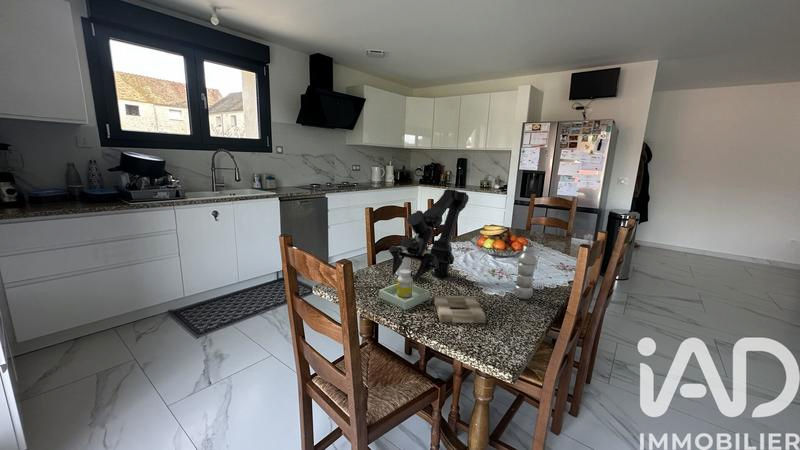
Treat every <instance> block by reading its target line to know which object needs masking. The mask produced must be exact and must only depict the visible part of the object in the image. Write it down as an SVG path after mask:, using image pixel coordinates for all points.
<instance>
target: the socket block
mask: <svg viewBox="0 0 800 450" xmlns="http://www.w3.org/2000/svg"><path fill="white" fill-rule="evenodd" d="M433 297H434V298H433V303H434V306H435V310H436V312H437V315H438V319H439V322H440V323H451V324H452V323H453V324H454V323H456V324H457V323H459V324H460V323H461V324H462V323H465V324H466V323H468V324H469V323H470V324H485V322H486V314H485V313H484V310H483V309H482V307H481V306H480V304H479V302H478V301H477V300H476V297H475V296H473V295H471V296H470V295H434V296H433ZM451 308H452V309H451ZM453 308H455V309H453ZM456 308H458V309H456ZM459 308H462V309H459ZM463 308H464V309H463Z"/></svg>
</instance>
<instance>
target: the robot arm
mask: <svg viewBox="0 0 800 450" xmlns="http://www.w3.org/2000/svg"><path fill="white" fill-rule="evenodd" d="M469 198H470V197H469V195H468V194H467V192H465V191H458V190H456V189H451V188H450V189H449V188H447V189H444V191H443V194H442V195H441V196H440V197H439V199H438V200H437V202H435V204H434V205H433V206H432V207H431V208H428V209H426V210H424V212H423V211H422V210H416V211H415V212H413V213H411V214H409V216H408V217H407V220H406V221H407V223H408V226H409V227H410V228H411V230H412V232H413V233H414V234H415V235H414V237H405V236H403V237H402V241H401V245H400V246H404V247H405V249H406V250H407V252H404V251H403V250H402V248H401V247H399V246H397V245H392V246H390V247H389V250H388V252H389V253H390V256H392V260H393V264H392V272H391V273H392V275H396V272H397V270H398V269H399V267H400V265H401V264H402V262H403V261H402V259H404V257H407V258H411V260H416V261H420V263H419V264H420V265H419V267H418V268H417V271H416V273H415V275H414V278H413V281H414V282H416V281H418V280H419V279H420V278H422V277H423V275H425V274H426V273H428V272H429V271H433V270H434V271H433V272H432V273H431V275H432V276H433V277H437V278H440V279H442V280H443V279H446V278H449V277H451V276H452V274H451V273H450V272H449V271H450V265H453V264H454V262H455V257H454V254H453V252H452V251H453V247H452V244H451V242H452V238H453V234H454V232H455V228H456V225H457V221H458V218H459V216H460V213H461V211H463V210H464V209H465V208H466V206H467V203H468V202H469ZM447 210H448V211H447ZM446 211H447V214H446V217H445V220H444V224H443V226H442V230H441V234H440V236H439V238H438V239H436V240H434V241H433V243H432V247H431V249H430V252H429V253H428V252H425V251H428V249H429V248H428V244H429V243H430V241H431V238H432V239H433V238H435V235H434V230H432V229H438V228H439V227H440V226H441V225H442V223H443V215H444V214H445V212H446Z"/></svg>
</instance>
